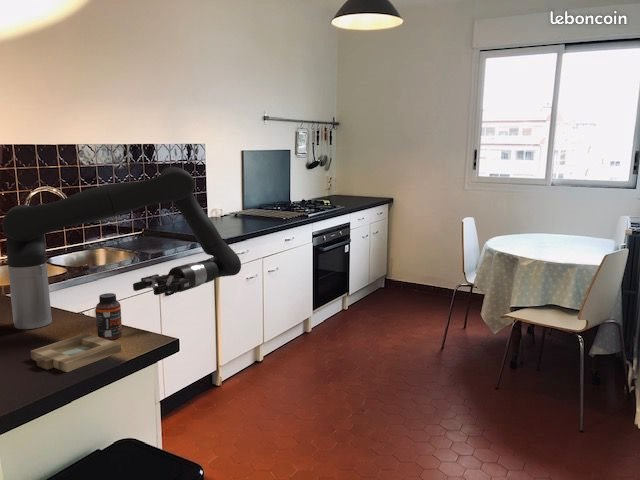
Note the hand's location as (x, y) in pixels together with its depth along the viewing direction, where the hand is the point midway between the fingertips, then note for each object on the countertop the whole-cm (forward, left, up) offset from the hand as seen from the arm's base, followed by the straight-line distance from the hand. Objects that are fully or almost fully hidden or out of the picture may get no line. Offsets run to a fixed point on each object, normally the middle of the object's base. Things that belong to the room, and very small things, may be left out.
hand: (144, 289), depth 143 cm
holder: (+4, -23, -10) cm, 26 cm away
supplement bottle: (0, -11, -10) cm, 15 cm away
